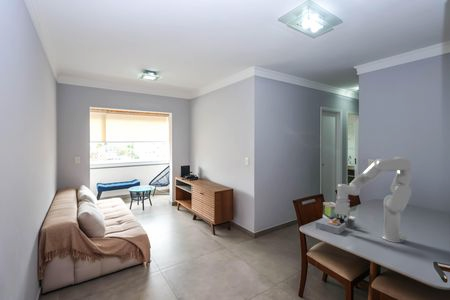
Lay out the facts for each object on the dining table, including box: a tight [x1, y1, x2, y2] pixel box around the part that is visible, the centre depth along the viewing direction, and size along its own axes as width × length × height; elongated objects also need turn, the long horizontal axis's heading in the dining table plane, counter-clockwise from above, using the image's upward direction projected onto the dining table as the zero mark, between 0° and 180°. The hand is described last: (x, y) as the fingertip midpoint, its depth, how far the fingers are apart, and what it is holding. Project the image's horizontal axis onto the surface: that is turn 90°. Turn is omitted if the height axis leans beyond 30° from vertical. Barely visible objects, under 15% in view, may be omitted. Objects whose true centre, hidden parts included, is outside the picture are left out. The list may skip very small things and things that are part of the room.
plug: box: [346, 215, 356, 230], centre depth 181 cm, size 5×5×9 cm
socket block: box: [315, 217, 347, 235], centre depth 180 cm, size 18×14×5 cm
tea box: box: [322, 201, 340, 222], centre depth 199 cm, size 15×10×15 cm
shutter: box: [328, 218, 340, 225], centre depth 178 cm, size 7×7×3 cm
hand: (341, 223), depth 174 cm, fingers closed
